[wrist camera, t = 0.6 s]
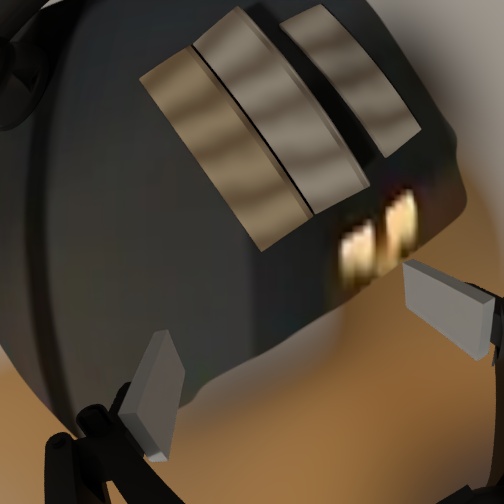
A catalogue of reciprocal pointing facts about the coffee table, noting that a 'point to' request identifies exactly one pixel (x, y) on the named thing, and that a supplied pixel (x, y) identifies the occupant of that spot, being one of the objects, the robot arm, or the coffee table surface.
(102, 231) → the coffee table surface
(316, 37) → the plank
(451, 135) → the coffee table surface
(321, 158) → the board
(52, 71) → the coffee table surface
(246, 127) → the laid board
